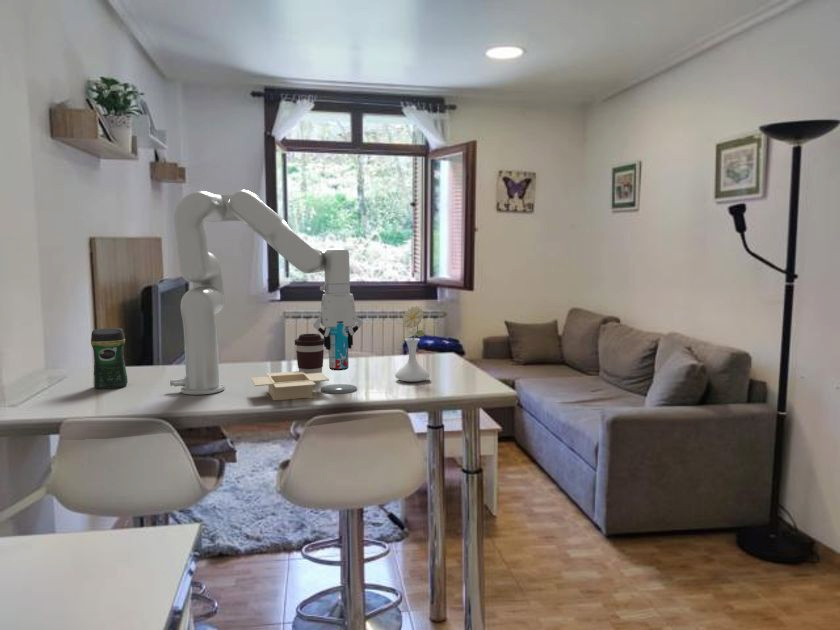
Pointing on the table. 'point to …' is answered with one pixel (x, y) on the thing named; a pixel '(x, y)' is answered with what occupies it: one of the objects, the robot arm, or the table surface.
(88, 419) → the table surface
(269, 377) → the carton
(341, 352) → the beverage can
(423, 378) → the flower in vase
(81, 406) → the table surface
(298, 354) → the coffee cup
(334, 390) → the coaster
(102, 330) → the coffee jar
